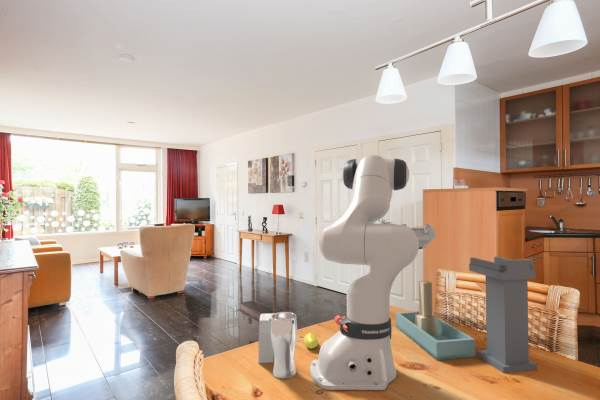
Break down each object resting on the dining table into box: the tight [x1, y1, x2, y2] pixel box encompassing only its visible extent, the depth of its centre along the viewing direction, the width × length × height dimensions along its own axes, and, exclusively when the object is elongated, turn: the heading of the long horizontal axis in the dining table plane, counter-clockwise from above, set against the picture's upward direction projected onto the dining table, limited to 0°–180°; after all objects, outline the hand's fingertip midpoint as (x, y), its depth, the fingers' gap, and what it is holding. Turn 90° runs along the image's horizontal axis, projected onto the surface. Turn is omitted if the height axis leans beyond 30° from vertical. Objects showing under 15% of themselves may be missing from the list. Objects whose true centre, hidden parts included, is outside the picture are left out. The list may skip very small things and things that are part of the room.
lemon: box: [303, 332, 319, 350], centre depth 105 cm, size 4×8×4 cm, turn 1°
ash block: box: [415, 280, 439, 336], centre depth 111 cm, size 6×17×4 cm
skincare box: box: [258, 312, 275, 364], centre depth 97 cm, size 6×4×12 cm
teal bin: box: [395, 310, 476, 361], centre depth 109 cm, size 12×26×5 cm, turn 9°
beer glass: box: [271, 311, 298, 380], centre depth 88 cm, size 7×7×15 cm
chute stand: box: [468, 256, 538, 374], centre depth 95 cm, size 10×13×29 cm
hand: (416, 225), depth 123 cm, fingers open, 8 cm apart
